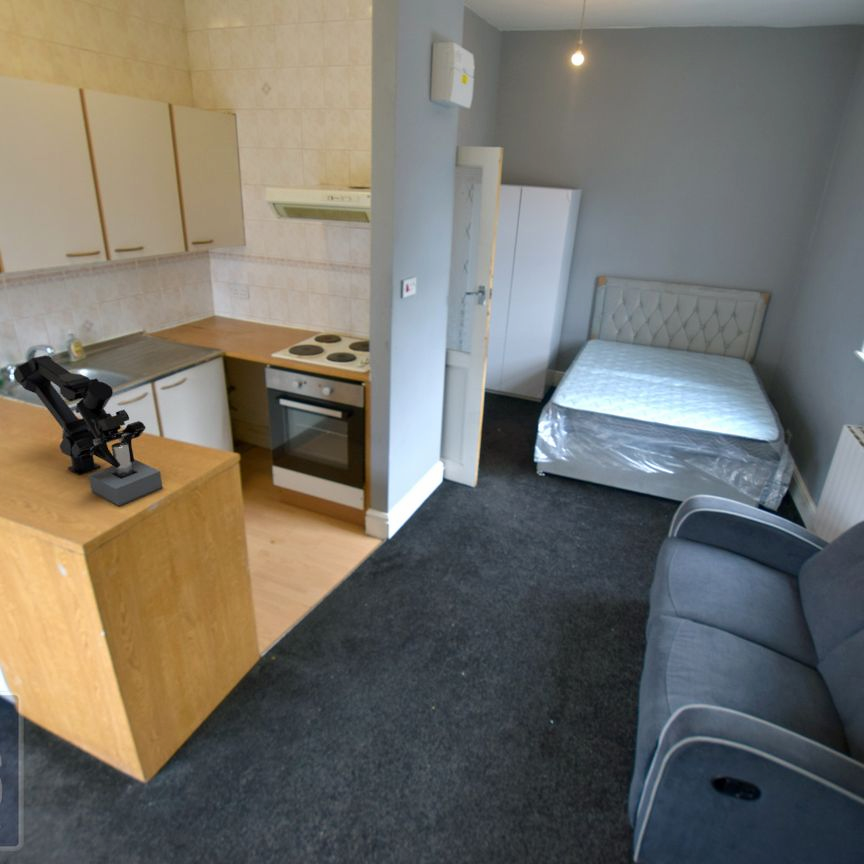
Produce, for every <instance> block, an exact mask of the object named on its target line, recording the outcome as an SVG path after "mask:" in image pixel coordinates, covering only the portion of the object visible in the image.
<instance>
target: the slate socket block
mask: <svg viewBox="0 0 864 864" xmlns="http://www.w3.org/2000/svg"><path fill="white" fill-rule="evenodd" d="M131 465H132V471H133V474H132V475H130V476H127V477H125V478H122V479H121V478H119V477H117V474H116V469H115V467H114V466H113V465H111V466H108V467H106V468H102V469H100V470H97V471H94V472H91V473H89V474H88V481H89V485H90V490H91V493H93V494H95V495H96V496H98V497H100V498H102V499H104V500H106V501H107V502H109V503H112V504H113V505H115V506H116V507H118V508H119V507H121V506H124V505H126V504H129V503H132V502H133V501H135V500H138V499H141V498H143V497H146V496H147V495H150V494H152V493H155V492H156V491H159V490H161V489H163V482H162V476H161V475H162V474H161V471H160V470H158V469H156V468H155V467H152V466H150V465H148V464H145V463H143V462H141V461H139V460H137V459H135V458H134V462H131Z"/></svg>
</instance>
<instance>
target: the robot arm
mask: <svg viewBox="0 0 864 864" xmlns="http://www.w3.org/2000/svg"><path fill="white" fill-rule="evenodd" d="M13 375H14V376H13V377H14V379H15V381H16V382H17V383H18V384H20V386H21V387H22V388H23V389H24V390H26V391H28V392H31V393H33V394H35V395H36V396H37V398H39V400H40V401H41V402H42V404H43V405H44V406H45V408H46V409H47V411H49V413H50V414H51V415H52V416H53V418H54V419H55V421H56V422H57V423H58V425H59V426H60V427H61V428H62V432H61V433H62V434H61V435H62V436H61V438H62V441H61V442H60V445H59V448H60V450H61V453H62V454H64V455H65V456H67V457H70V460H71V461H70V462H71V464H72V465H71V466H68V467H67V469H68V470H69V471H71V472H72V473H75V474H76V475H79V476H81V475H84V474H86V473H90V472H92V471H95V470H97V469H100V468H101V465H100V464H97V463H95V457H97V458H99V459H101V460H103V461H105V462H106V463H108V464H109V465H111V466H114V467H116V468H118V467H119V464H118V462H117V461H116V459H115V458H114V456H113V453H112V452H111V450H110V449H109V447H108V443H110V442H113V441H119V443H120V442H125V443H128V447H129V453H130V459H131V462H134V459H135V457H134V451H133V447H132V446H133V445H132V440H133V439H134V440H135V439H137V438H139V437H141V435H142V434H143V433H144V431H145V430H146V429H147V428H146V425H145V424H144V422H142V421H140V420H138V421H135V422H131V423H128V424H127V425H126V423H125V422H127V421H129V420H130V416H129V414H128V412H127V411H126V410H125V409H121V410H117V411H116V412H115V415H112V414H111V412H108V413H107V411H106V410H105V408H106V407H107V404H108V403H109V401H110V400H111V398H112V396H113V394H114V393H113V392H114V390H113V388H112V386H110V385H109V384H107V383H105V382H103V381H99V380H98V378H97V377H96V378H93V379H90V378H89V377H88V376H86V375H83V374H79V373H72V372H71V371H69V370H67V369H66V368H64V367H63V366H61V365H60V364H59V363H57V362H55V360H53V358H52V357H51V356H50V355H39V356H36V357H31V358H30V359H29V360H27V362H25V363H23V364H21V365H19V366H17V367H16V369H15V370H14V372H13ZM52 383H53V384H55V385H56V386H57V387H58V388H59V392H60V394H59V392H58V390H57V389H56V388H55V387H54V385H53V384H52ZM63 398H64V399H65V400H67V401H68V402H74V401H77V400H79V402H77V403H76V407H75V413H76V414H80V416H81V417H82V418H78V417H77V416H76V414H75V413H74V411H72V409H71V408H70V406H69V405H68V403H66V401H65V400H64V399H63ZM123 426H126V427H125V428H124V429H122V430H121V428H122V427H123ZM94 456H95V457H94Z"/></svg>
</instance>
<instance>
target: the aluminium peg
mask: <svg viewBox="0 0 864 864" xmlns="http://www.w3.org/2000/svg"><path fill="white" fill-rule="evenodd" d="M111 450H112V452H111V453H112V455H113V456H114V458H115V459H116V461H117V462H118V464H119V467H118V468H116V467H115V469H116V474H117V477H119V478H121V479H122V478H125V477H127V476H130V475H132V474H133V471H132V465H131V459H130V453H129V447H128V443H125V442H120V441H119V442H116V443H113V444H112V445H111Z"/></svg>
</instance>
